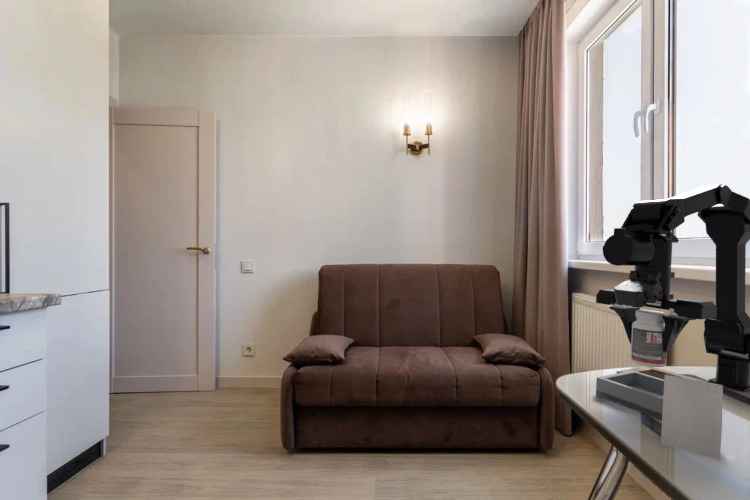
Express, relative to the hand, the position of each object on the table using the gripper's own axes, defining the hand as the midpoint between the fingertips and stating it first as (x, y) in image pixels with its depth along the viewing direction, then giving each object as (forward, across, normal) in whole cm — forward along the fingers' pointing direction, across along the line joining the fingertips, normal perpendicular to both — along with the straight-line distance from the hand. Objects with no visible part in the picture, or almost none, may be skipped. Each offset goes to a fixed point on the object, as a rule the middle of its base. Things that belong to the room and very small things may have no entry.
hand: (648, 347), depth 77 cm
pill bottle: (+3, 0, 0) cm, 3 cm away
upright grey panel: (+10, +13, -13) cm, 21 cm away
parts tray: (+10, 0, 0) cm, 10 cm away
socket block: (+10, -4, +13) cm, 17 cm away
